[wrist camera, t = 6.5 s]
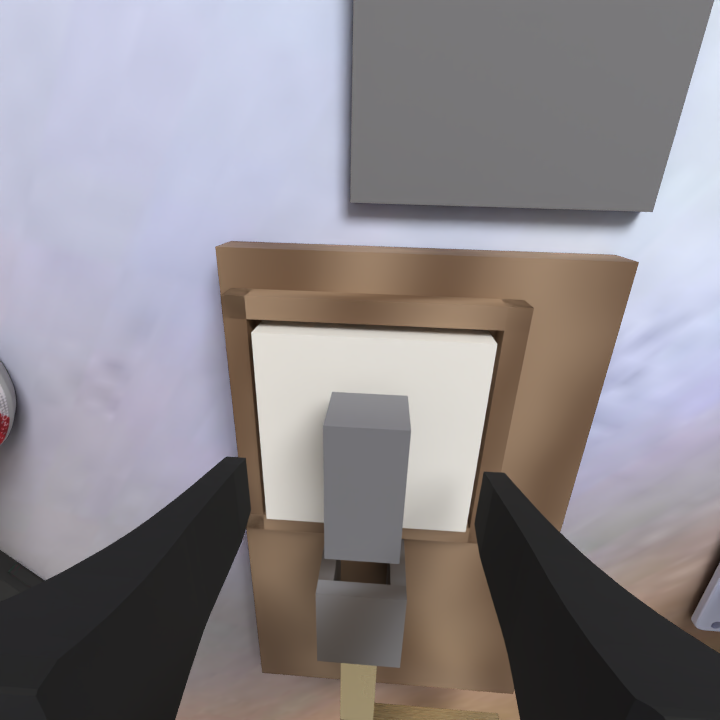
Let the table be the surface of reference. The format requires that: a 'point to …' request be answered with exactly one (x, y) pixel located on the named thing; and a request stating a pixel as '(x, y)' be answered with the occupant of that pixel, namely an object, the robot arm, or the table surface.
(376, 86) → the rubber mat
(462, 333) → the cover
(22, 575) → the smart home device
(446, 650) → the walnut base
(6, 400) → the soda can
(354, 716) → the latch bolt
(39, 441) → the table surface
